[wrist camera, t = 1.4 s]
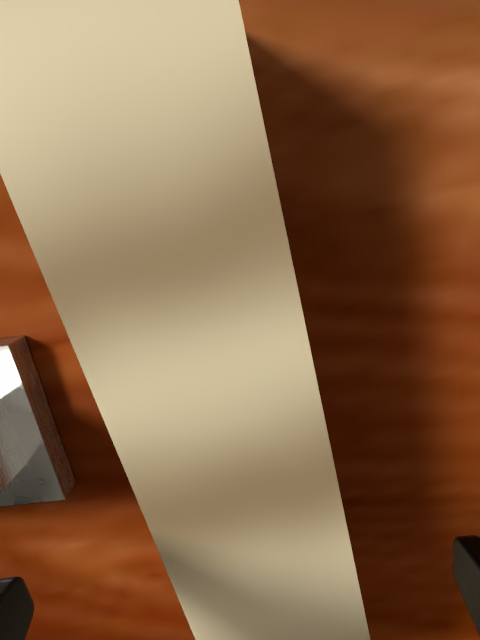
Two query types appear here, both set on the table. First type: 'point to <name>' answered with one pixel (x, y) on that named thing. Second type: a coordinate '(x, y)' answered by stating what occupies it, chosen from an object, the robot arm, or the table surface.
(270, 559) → the maple beam
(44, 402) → the ridge
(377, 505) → the table surface
